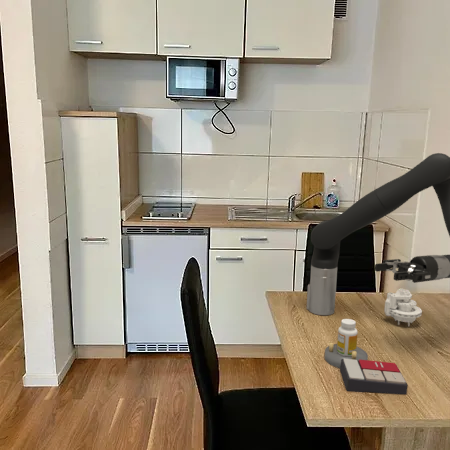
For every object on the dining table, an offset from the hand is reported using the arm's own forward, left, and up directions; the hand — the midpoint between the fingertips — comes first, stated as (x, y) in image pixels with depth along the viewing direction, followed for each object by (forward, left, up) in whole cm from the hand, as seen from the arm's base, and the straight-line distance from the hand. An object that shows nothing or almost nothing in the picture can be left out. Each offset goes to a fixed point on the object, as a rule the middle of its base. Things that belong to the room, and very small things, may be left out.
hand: (384, 272), depth 135 cm
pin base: (-5, -10, -25) cm, 28 cm away
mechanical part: (-6, +28, -26) cm, 38 cm away
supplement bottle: (-5, -10, -24) cm, 26 cm away
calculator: (+7, -15, -26) cm, 31 cm away
